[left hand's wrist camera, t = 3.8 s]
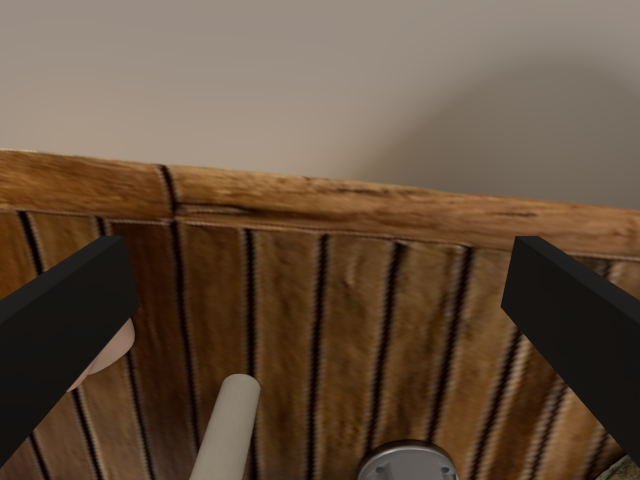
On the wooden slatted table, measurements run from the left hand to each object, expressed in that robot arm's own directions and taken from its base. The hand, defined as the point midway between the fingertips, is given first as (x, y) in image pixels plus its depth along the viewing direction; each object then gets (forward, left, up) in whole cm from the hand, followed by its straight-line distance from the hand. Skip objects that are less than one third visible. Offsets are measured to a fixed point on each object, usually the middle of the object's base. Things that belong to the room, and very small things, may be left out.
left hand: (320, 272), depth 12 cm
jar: (-32, +11, -28) cm, 44 cm away
